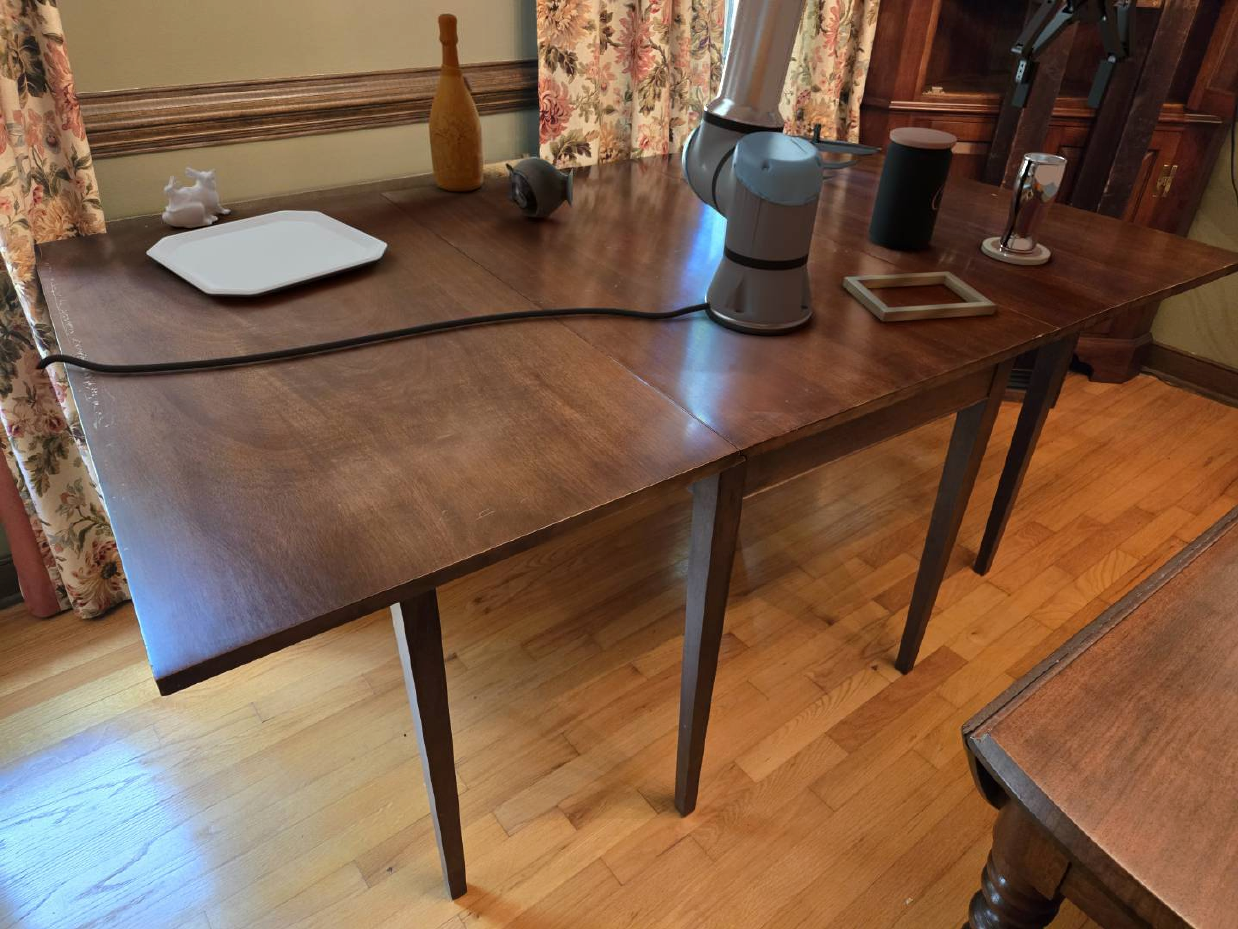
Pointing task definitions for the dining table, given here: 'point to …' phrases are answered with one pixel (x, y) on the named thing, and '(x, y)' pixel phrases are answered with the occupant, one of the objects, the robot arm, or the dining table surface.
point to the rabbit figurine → (193, 201)
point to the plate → (266, 253)
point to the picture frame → (972, 308)
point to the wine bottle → (454, 120)
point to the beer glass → (1031, 200)
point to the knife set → (838, 150)
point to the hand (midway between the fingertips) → (1056, 106)
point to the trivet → (998, 253)
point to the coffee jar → (911, 188)
